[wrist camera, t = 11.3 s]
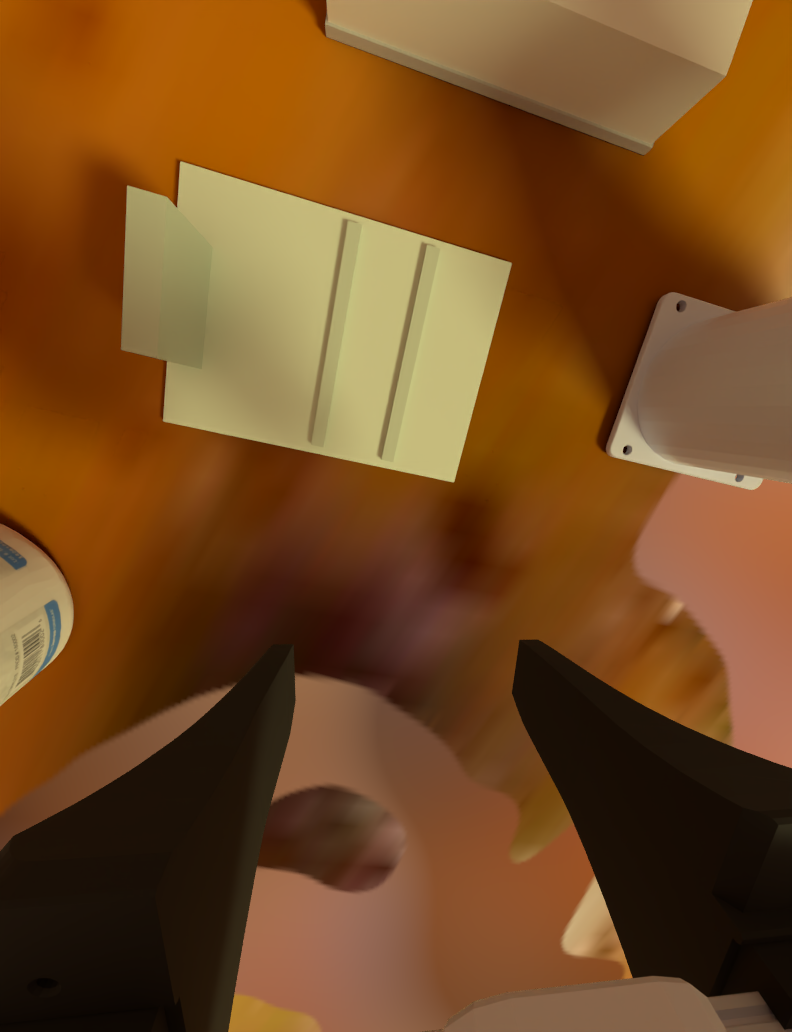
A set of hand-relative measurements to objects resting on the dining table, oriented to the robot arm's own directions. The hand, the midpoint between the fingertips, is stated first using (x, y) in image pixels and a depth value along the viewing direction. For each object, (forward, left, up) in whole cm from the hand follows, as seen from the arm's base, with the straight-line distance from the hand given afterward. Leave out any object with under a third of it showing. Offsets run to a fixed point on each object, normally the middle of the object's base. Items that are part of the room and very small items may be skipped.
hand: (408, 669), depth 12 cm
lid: (+5, -10, -10) cm, 15 cm away
